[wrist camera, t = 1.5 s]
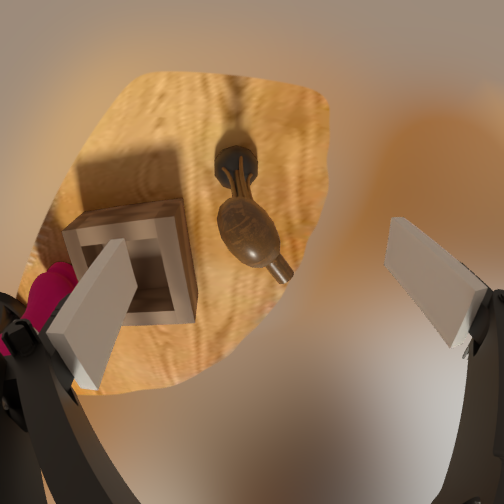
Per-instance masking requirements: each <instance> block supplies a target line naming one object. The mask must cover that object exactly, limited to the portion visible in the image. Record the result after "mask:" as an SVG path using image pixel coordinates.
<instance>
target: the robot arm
mask: <svg viewBox="0 0 504 504" xmlns="http://www.w3.org/2000/svg"><path fill="white" fill-rule="evenodd" d="M384 266H385V267H386V268H387V269H388V270H389V271H390V273H391V274H392V275H393V276H394V277H395V279H396V280H397V281H398V282H399V283H400V284H401V286H402V287H403V288H404V289H405V290H406V292H407V293H408V294H409V295H410V297H411V298H412V299H413V300H414V302H415V303H416V304H417V305H418V307H419V308H420V309H421V311H423V313H424V314H425V316H426V317H427V318H428V320H429V321H430V322H431V323H432V325H433V326H434V328H435V329H436V330H437V332H439V334H440V335H441V337H442V338H443V340H444V341H445V342H446V344H447V345H448V346H449V348H453V347H456V346H459V345H461V344H463V342H464V340H465V338H466V336H467V334H468V332H469V333H470V335H471V336H472V339H471V341H470V343H469V345H468V347H467V349H466V351H465V352H464V355H463V357H462V358H463V359H464V358H465V356H466V355H467V354H468V353H469V356H468V370H467V379H466V387H465V395H464V402H463V408H462V413H461V419H460V424H459V429H458V433H457V438H456V442H455V446H454V450H453V454H452V458H451V461H450V465H449V468H448V471H447V474H446V477H445V480H444V484H443V486H442V489H441V491H440V492H439V494H438V495H437V497H436V498H435V499H434V500H433V501H432V503H431V504H504V290H500V289H498V290H495V291H492V290H491V289H490V288H489V287H488V286H487V285H486V284H485V283H484V282H483V281H482V280H480V278H479V277H477V276H475V274H474V273H473V272H472V271H469V268H467V267H466V266H465V265H464V264H463V263H461V262H459V261H458V260H457V259H455V258H454V257H453V256H452V255H451V254H450V253H449V252H447V251H446V250H445V249H443V248H442V247H441V246H440V245H439V244H438V243H436V242H435V241H434V240H433V239H431V238H430V237H429V236H428V235H426V234H425V233H424V232H422V231H421V230H420V229H418V228H417V227H416V226H415V225H413V224H412V223H411V222H409V221H408V220H407V219H405V218H404V217H395V218H391V224H390V231H389V238H388V244H387V250H386V256H385V261H384ZM137 287H138V286H137V283H136V279H135V276H134V273H133V269H132V265H131V262H130V258H129V254H128V251H127V247H126V243H125V239H124V238H122V239H113V240H110V241H109V242H108V244H107V245H106V246H105V247H104V249H103V250H102V251H101V253H100V254H99V255H98V257H97V258H96V259H95V261H94V262H93V263H92V265H91V266H90V267H89V269H88V270H87V271H86V273H85V274H84V276H83V277H82V278H81V280H80V281H79V283H78V284H77V285H76V287H75V288H74V290H73V291H72V293H69V294H67V295H66V296H65V297H64V298H63V299H61V300H60V302H59V303H58V304H57V306H56V307H55V310H53V312H52V313H51V315H50V317H49V318H48V320H47V321H46V323H45V324H44V326H43V327H42V329H41V331H40V332H39V334H38V335H37V333H36V331H35V329H34V327H33V326H32V324H31V322H30V320H28V319H26V318H24V319H20V318H21V317H22V316H23V314H24V313H25V311H26V307H25V306H24V305H23V304H22V303H20V302H19V301H18V300H16V299H15V298H13V297H12V296H10V295H8V294H5V293H2V292H0V334H1V333H2V337H1V339H2V341H3V342H4V344H5V345H6V347H7V349H8V350H9V352H10V353H11V355H7V356H3V355H2V354H1V352H0V504H47V500H46V495H45V490H44V486H43V480H42V475H41V470H42V473H43V475H44V478H45V480H46V483H47V485H48V487H49V490H50V492H51V494H52V496H53V498H54V501H55V502H56V504H141V503H140V502H139V501H138V499H137V498H136V497H135V496H134V494H133V493H132V491H131V490H130V489H129V487H128V486H127V484H126V483H125V482H124V480H123V478H122V477H121V475H120V474H119V472H118V471H117V469H116V468H115V466H114V465H113V463H112V461H111V460H110V458H109V457H108V455H107V453H106V452H105V450H104V448H103V447H102V445H101V443H100V441H99V439H98V437H97V436H96V434H95V432H94V430H93V428H92V426H91V425H90V423H89V420H88V418H87V416H86V415H85V412H84V411H83V408H82V406H81V404H80V402H79V400H78V398H77V395H76V393H75V391H74V390H73V388H72V387H71V384H72V382H73V379H75V380H76V382H77V383H78V385H79V386H80V387H81V388H83V389H91V390H98V389H99V386H100V383H101V380H102V377H103V374H104V371H105V368H106V366H107V363H108V360H109V357H110V354H111V352H112V349H113V346H114V344H115V341H116V338H117V336H118V333H119V331H120V328H121V325H122V323H123V320H124V318H125V316H126V313H127V311H128V308H129V306H130V303H131V301H132V299H133V296H134V294H135V292H136V289H137ZM14 320H16V321H14ZM13 321H14V322H13Z"/></svg>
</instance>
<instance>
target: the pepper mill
mask: <svg viewBox="0 0 504 504" xmlns="http://www.w3.org/2000/svg"><path fill="white" fill-rule="evenodd" d="M78 283H79V282H78V279H77V277H76V274H75V271H74V268H73V266H71V265H70V264H68V263H65V262H56V263H54V264H53V265H52V266H51V267H50V268H49V269H48V270H47V272H45V273H42V274H40V275H39V276H38V277H37V278H36V279H35V281H34V282H33V284H32V286H31V289H30V292H29V297H28V304H27V308H26V311H25V313H24V314H23V316H22V317H21V318H20V319H24V318H26V319H28V320H30V322H31V324H32V326H33V327H34V329H35V331H36V333H37V335H38V334H39V332H40V331H41V329H42V327H43V326H44V324H45V323H46V321H47V320H48V318H49V317H50V315H51V313H52V312H53V310H55V307H56V306H57V304H58V303H59V302H60V300H61V299H63V298H64V297H65V296H66V295H67V294H69V293H72V291H73V290H74V288H75V287H76V285H77V284H78ZM14 321H16V320H14ZM14 321H13V322H14ZM1 337H2V333H1V334H0V352H1V354H2V355H3V356H7V355H11V353H10V352H9V350H8V349H7V347H6V345H5V344H4V342H3V341H2V339H1Z"/></svg>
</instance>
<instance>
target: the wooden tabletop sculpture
mask: <svg viewBox="0 0 504 504" xmlns="http://www.w3.org/2000/svg"><path fill="white" fill-rule="evenodd" d="M257 175H258V161H257V159H256V158H255V157H254V155H253V154H252V152H251V151H250V150H249V149H246V148H243V147H240V146H237V145H236V146H233V147H230V148H226V149H223V150H222V151H221V153H220V154H219V155H218V157H217V158H216V160H215V177H216V178H217V179H218V180H219V182H220V183H221V184H222V186H223V187H226V188H229V189H231V191H232V198H229V199H227V200H226V201H225V202H224V203H223V204H222V205H221V206H220V207H219V212H218V216H217V223H218V228H219V231H220V235H221V238H222V240H223V241H224V243H225V244H226V246H227V247H228V249H229V251H230V252H231V253H232V254H233V255H234V256H235V257H237V258H238V259H239V260H240V261H241V262H242V263H244V264H246V265H248V266H250V267H255V268H263V267H266V268H267V269H268V271H269V272H270V273H271V274H272V276H273V277H274V278H275V279H276V281H277V282H278V283H279V284H284V283H286V282H288V281H289V280H290V279H291V278H292V277H293V275H294V272H293V270H292V269H291V267H290V266H289V265H288V263H287V262H286V261H285V259H284V258H283V257H282V255H281V254H280V239H279V235H278V232H277V230H276V227H275V225H274V222H273V221H272V220H271V218H270V217H269V215H268V214H267V213H266V211H265V210H264V209H263V208H262V207H260V206H259V205H258V204H257V203H256V202H255V201H254V200H253V197H252V194H251V190H250V185H251V184H252V182H253V181H254V180H255V178H256V177H257Z"/></svg>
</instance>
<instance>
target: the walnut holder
mask: <svg viewBox="0 0 504 504" xmlns="http://www.w3.org/2000/svg"><path fill="white" fill-rule="evenodd" d="M62 235H63V238H64V241H65V244H66V248H67V251H68V254H69V257H70V260H71V263H72V266H73V268H74V271H75V274H76V277H77V279H78V282H79V281H80V280H81V278H82V277H83V276H84V274H85V273H86V271H87V270H88V269H89V267H90V266H91V265H92V263H93V262H94V261H95V259H96V258H97V257H98V255H99V254H100V253H101V251H102V250H103V249H104V247H105V246H106V245H107V244H108V242H109V241H110V240H113V239H122V238H124V239H125V243H126V247H127V251H128V254H129V258H130V262H131V265H132V269H133V273H134V276H135V279H136V283H137V286H138V287H137V289H136V292H135V294H134V296H133V299H132V301H131V303H130V306H129V308H128V311H127V313H126V316H125V318H124V320H123V323H122V325H121V326H141V325H167V324H186V323H195V319H196V309H197V300H198V289H197V284H196V278H195V273H194V267H193V261H192V255H191V249H190V243H189V237H188V231H187V224H186V217H185V210H184V203H183V198H179V199H170V200H162V201H154V202H146V203H139V204H132V205H125V206H118V207H111V208H105V209H99V210H93V211H87V212H83V213H82V214H81V215H80V216H79V217H77V218H76V219H75V220H74V221H73V222H72V223H70V224H69V225H68V226H67V227H66V228H65V229H64V230H63V231H62Z"/></svg>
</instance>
